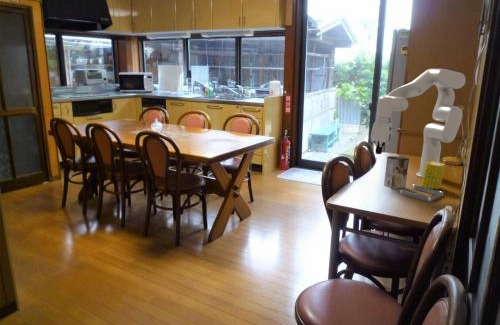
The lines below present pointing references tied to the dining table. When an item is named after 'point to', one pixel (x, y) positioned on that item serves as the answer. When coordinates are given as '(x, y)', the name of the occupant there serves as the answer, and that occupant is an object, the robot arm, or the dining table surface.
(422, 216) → the dining table surface
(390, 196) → the dining table surface
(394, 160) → the coffee box
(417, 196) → the grey rod frame
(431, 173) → the food
